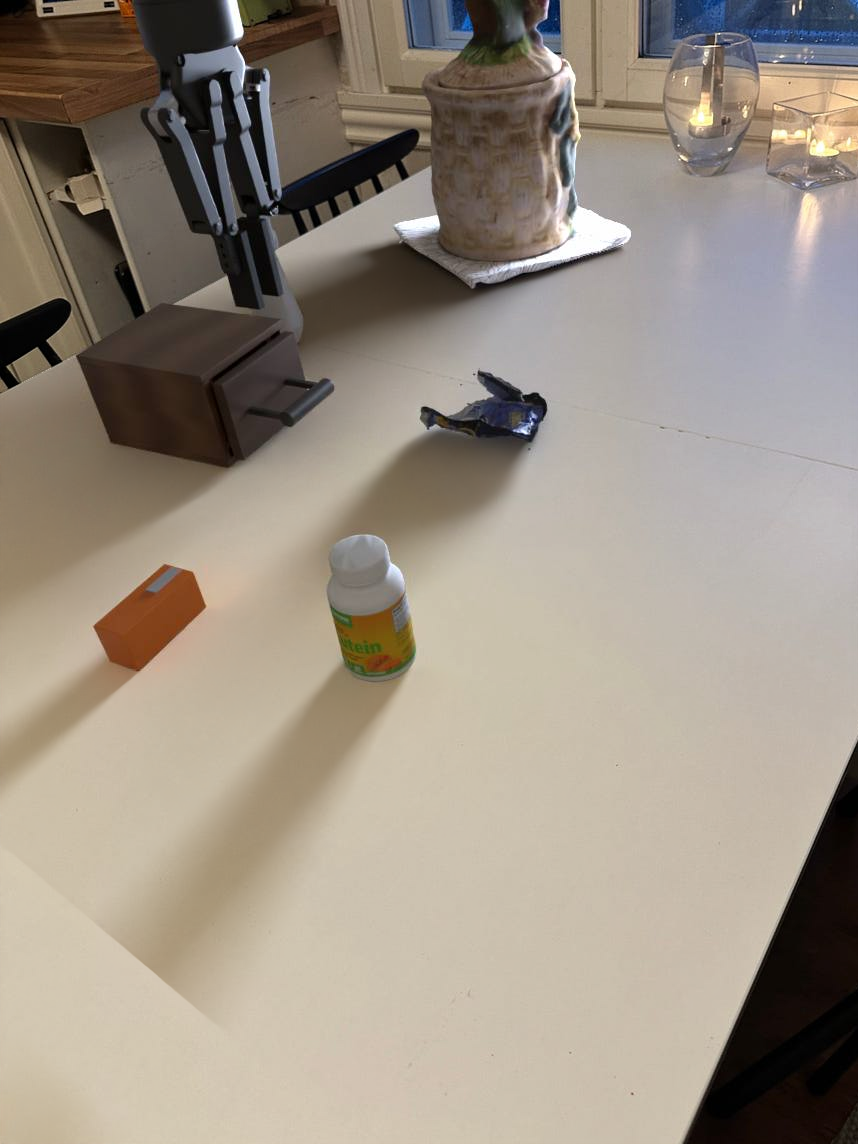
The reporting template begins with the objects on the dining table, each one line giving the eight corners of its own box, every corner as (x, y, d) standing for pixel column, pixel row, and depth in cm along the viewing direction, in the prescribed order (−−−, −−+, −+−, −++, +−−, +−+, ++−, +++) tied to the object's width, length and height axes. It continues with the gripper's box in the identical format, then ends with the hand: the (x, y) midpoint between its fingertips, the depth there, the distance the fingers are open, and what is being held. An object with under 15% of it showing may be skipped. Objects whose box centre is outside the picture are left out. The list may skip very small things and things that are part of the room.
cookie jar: (474, 295, 118) (443, -15, 97) (389, 242, 135) (348, -33, 113) (637, 243, 126) (642, -55, 104) (538, 199, 142) (525, -66, 121)
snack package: (475, 391, 100) (401, 440, 93) (478, 335, 95) (402, 381, 88) (570, 436, 95) (500, 491, 88) (579, 379, 90) (506, 432, 84)
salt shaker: (267, 331, 116) (239, 220, 107) (312, 330, 115) (287, 218, 106) (252, 353, 112) (221, 240, 103) (299, 352, 111) (272, 237, 102)
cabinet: (303, 407, 100) (281, 318, 94) (228, 468, 92) (200, 376, 86) (188, 386, 107) (161, 302, 100) (110, 442, 99) (75, 355, 92)
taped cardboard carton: (109, 661, 73) (91, 624, 70) (178, 598, 78) (163, 561, 75) (139, 671, 72) (121, 634, 69) (206, 606, 77) (193, 569, 74)
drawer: (354, 411, 97) (339, 338, 92) (288, 469, 89) (268, 393, 84) (202, 385, 105) (181, 316, 99) (131, 436, 97) (104, 364, 92)
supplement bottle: (332, 675, 69) (302, 569, 63) (364, 628, 73) (340, 523, 66) (399, 690, 67) (376, 582, 61) (429, 640, 71) (410, 533, 65)
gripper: (149, 5, 64) (241, 341, 79) (282, -36, 73) (341, 271, 89) (67, 7, 66) (171, 331, 82) (206, -33, 76) (276, 264, 92)
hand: (259, 299), depth 85 cm, fingers open, 2 cm apart
